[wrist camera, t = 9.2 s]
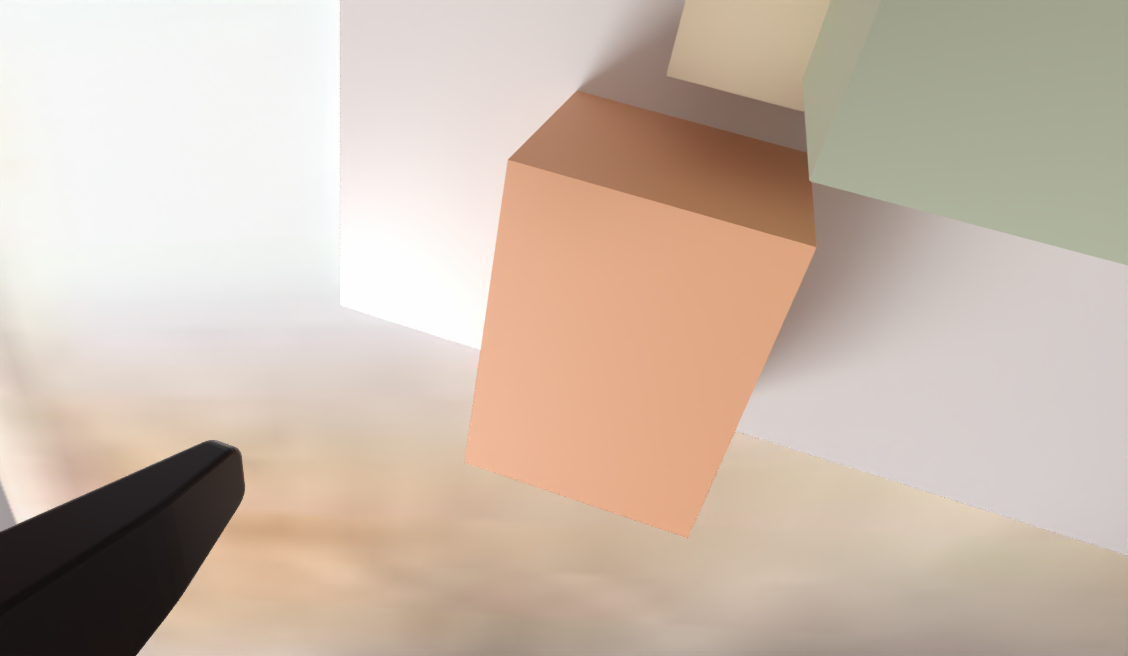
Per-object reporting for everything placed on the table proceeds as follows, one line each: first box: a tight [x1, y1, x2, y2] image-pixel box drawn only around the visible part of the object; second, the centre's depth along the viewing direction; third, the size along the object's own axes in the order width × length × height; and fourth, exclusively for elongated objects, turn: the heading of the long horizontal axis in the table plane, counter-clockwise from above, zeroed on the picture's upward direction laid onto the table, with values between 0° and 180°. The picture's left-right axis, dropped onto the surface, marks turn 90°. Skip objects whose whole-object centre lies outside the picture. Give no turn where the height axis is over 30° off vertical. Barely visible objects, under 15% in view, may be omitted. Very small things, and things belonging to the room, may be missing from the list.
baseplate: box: [340, 0, 1128, 556], centre depth 13 cm, size 24×20×1 cm
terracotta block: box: [465, 91, 817, 538], centre depth 15 cm, size 5×7×4 cm
